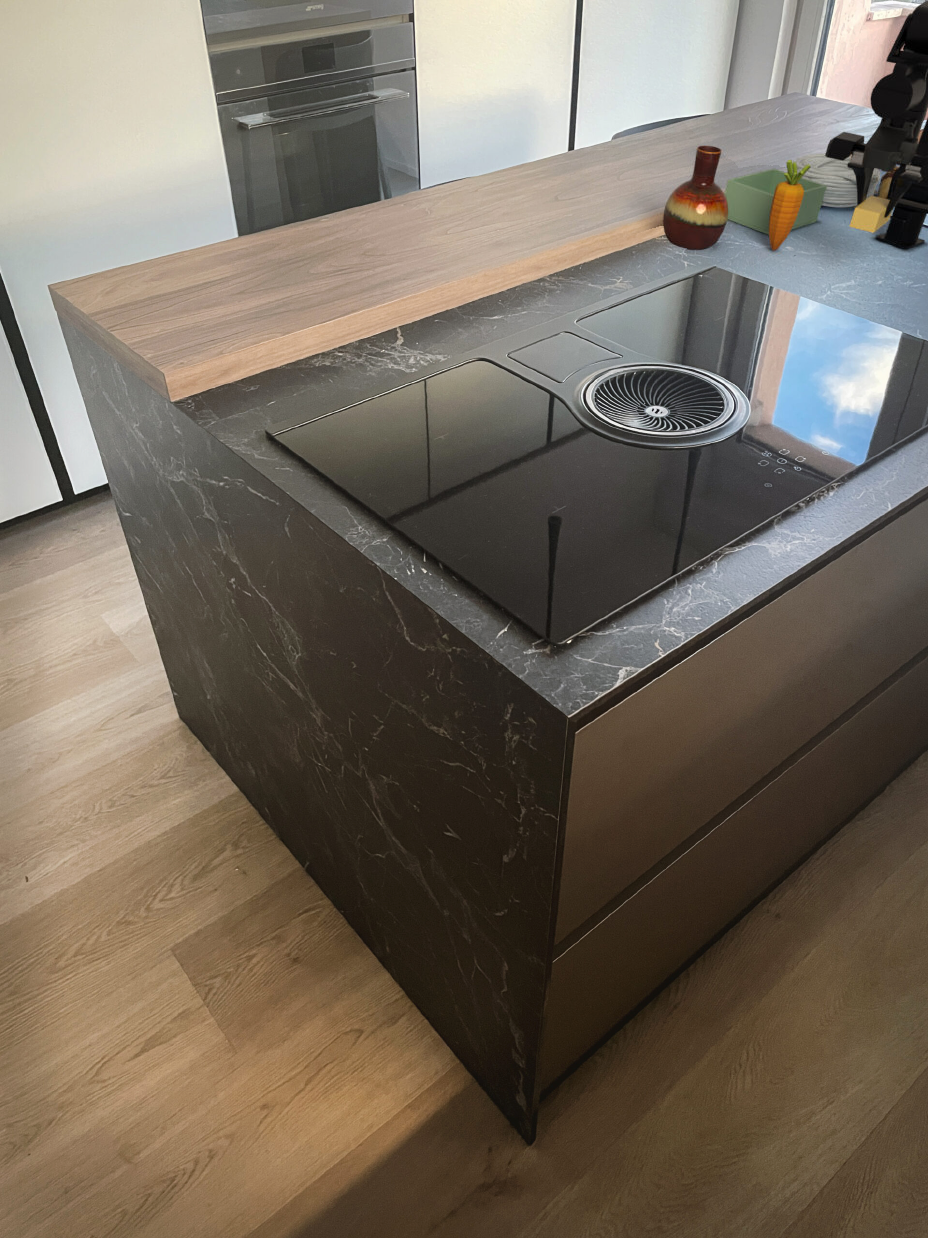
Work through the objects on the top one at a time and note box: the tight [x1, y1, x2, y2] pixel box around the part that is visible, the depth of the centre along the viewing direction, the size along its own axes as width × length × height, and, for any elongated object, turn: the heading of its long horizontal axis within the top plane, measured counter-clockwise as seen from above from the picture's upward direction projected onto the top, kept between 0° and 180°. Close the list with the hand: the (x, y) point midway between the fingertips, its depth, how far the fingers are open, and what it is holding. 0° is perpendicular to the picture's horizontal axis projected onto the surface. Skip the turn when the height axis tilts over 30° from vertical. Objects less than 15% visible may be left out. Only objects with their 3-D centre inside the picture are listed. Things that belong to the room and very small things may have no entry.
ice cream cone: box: [876, 165, 900, 199], centre depth 188 cm, size 6×6×15 cm
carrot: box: [768, 159, 811, 252], centre depth 161 cm, size 5×5×15 cm
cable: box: [792, 153, 881, 208], centre depth 187 cm, size 18×18×6 cm
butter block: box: [849, 195, 893, 234], centre depth 150 cm, size 8×4×3 cm, turn 144°
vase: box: [662, 145, 728, 251], centre depth 162 cm, size 11×11×15 cm
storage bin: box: [724, 168, 827, 236], centre depth 176 cm, size 14×12×7 cm
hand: (872, 213), depth 150 cm, fingers closed on butter block, 4 cm apart
